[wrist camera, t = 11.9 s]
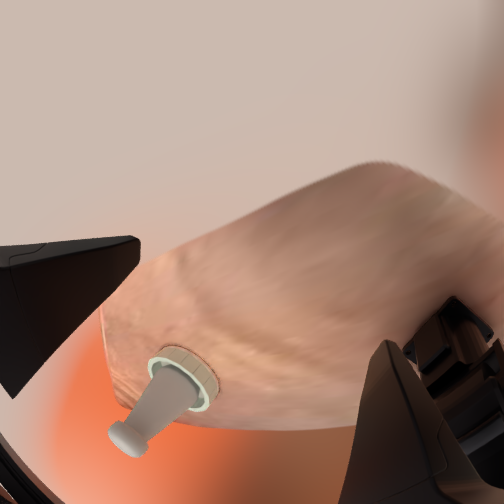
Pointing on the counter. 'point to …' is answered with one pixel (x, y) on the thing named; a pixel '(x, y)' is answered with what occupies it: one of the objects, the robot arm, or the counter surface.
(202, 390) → the pale green shallow dish
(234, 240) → the counter surface
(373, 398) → the robot arm
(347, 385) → the counter surface
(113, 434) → the salt shaker
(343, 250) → the counter surface
